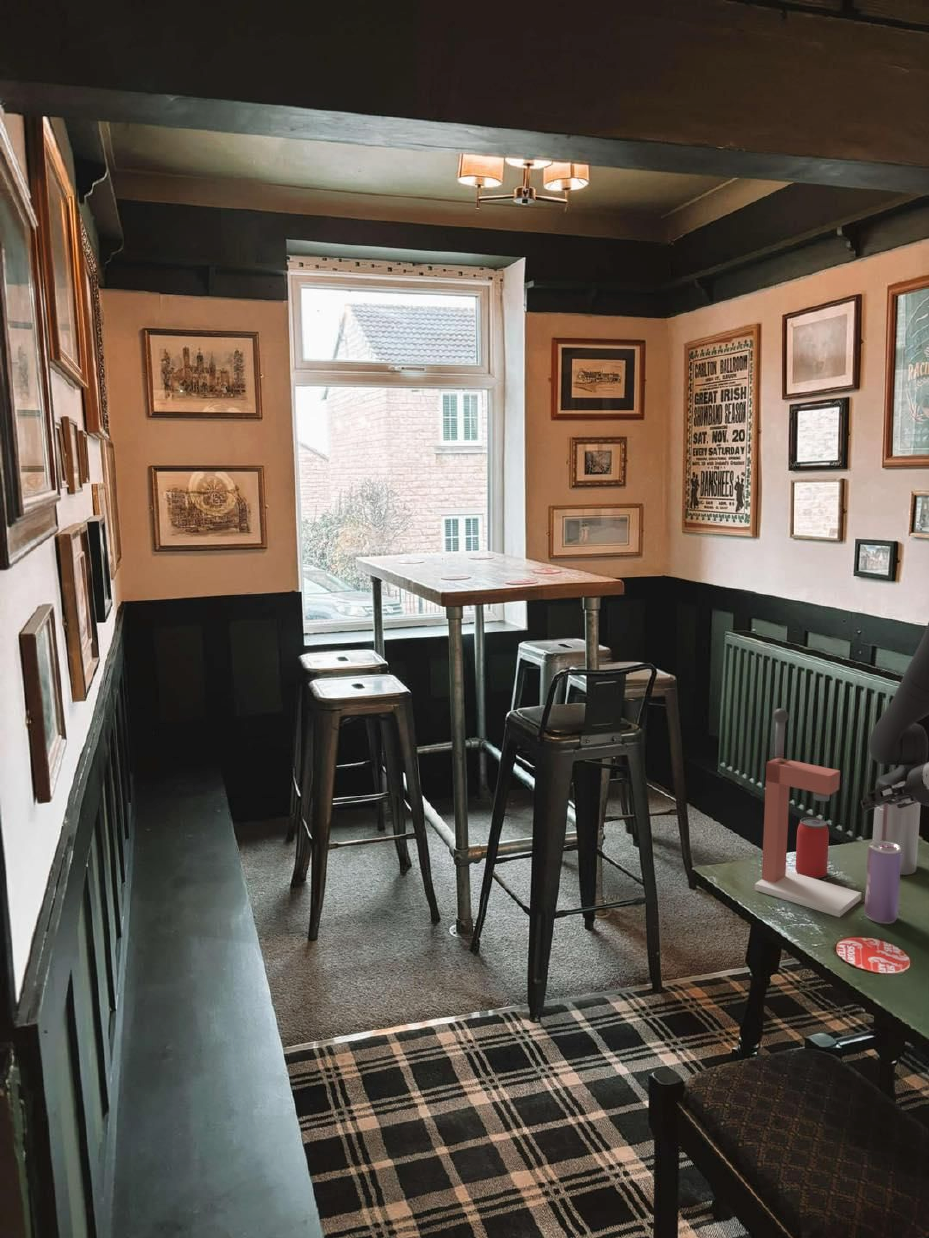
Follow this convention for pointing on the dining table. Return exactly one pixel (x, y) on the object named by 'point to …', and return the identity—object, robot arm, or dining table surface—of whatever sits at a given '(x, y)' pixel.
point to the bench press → (776, 830)
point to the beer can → (812, 848)
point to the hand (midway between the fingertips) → (880, 804)
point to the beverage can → (883, 882)
